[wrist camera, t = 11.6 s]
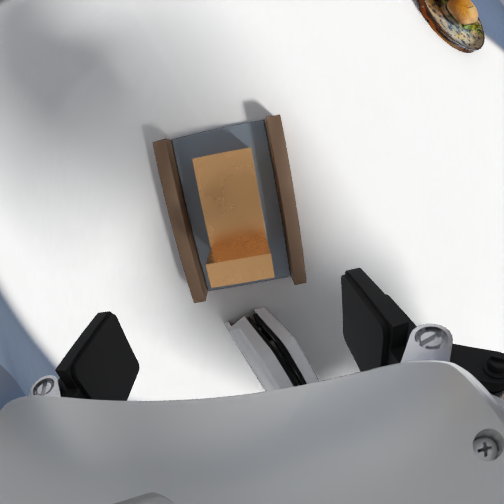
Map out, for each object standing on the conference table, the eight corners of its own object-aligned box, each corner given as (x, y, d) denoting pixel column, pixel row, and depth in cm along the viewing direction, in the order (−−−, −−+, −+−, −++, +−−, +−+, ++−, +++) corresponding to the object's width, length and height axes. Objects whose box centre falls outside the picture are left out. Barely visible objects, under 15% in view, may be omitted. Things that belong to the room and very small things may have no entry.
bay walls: (276, 118, 25) (279, 114, 22) (301, 272, 30) (306, 282, 28) (160, 143, 25) (152, 142, 23) (197, 291, 30) (194, 302, 28)
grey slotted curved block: (222, 320, 32) (253, 366, 22) (258, 300, 33) (300, 337, 23) (275, 404, 37) (307, 449, 28) (302, 387, 38) (339, 427, 29)
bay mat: (263, 120, 25) (263, 119, 24) (289, 274, 30) (290, 276, 30) (172, 139, 25) (171, 139, 25) (208, 289, 30) (208, 291, 30)
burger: (487, 51, 20) (521, 44, 13) (443, 56, 22) (480, 43, 15) (450, -15, 17) (477, -31, 10) (398, -20, 18) (425, -43, 11)
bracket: (267, 248, 29) (274, 277, 22) (218, 257, 29) (211, 288, 22) (250, 148, 25) (252, 145, 19) (197, 158, 25) (182, 159, 19)
